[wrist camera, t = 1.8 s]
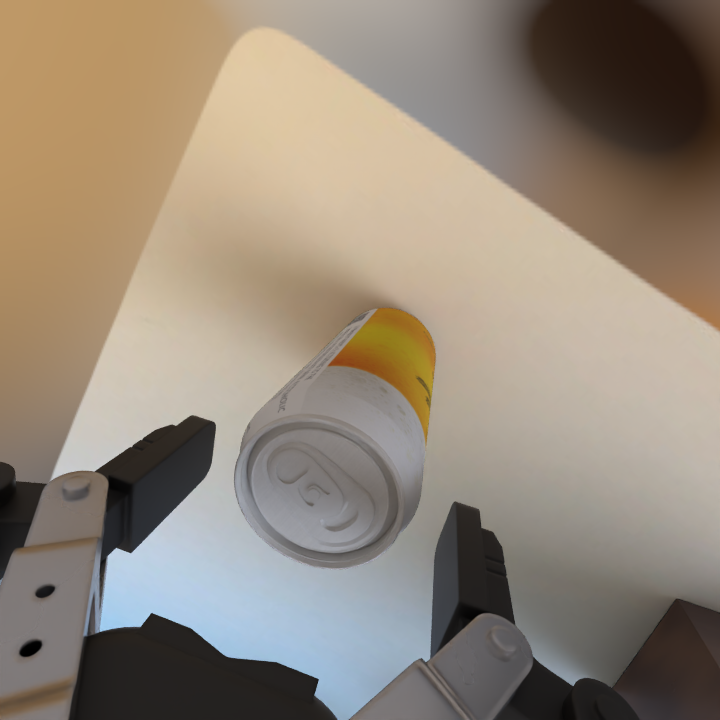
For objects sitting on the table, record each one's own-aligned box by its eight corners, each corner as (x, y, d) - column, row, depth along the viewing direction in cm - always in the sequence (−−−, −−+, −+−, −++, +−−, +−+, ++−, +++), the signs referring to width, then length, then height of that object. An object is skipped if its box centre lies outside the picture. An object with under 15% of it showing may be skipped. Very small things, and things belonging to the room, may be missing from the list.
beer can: (385, 412, 27) (317, 607, 13) (323, 346, 27) (185, 477, 13) (456, 358, 25) (464, 523, 11) (391, 284, 24) (313, 361, 11)
